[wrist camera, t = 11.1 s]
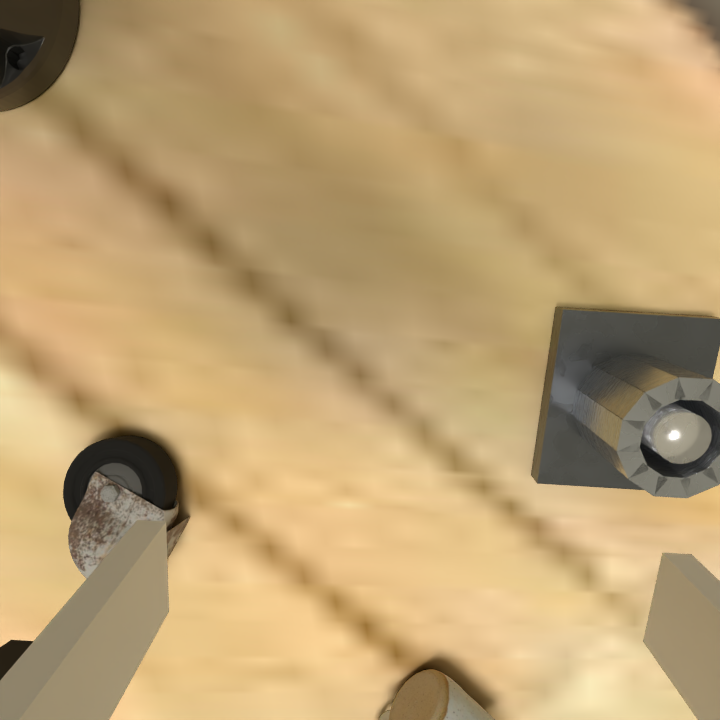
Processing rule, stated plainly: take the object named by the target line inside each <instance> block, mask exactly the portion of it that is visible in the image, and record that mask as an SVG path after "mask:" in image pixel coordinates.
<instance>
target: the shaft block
mask: <svg viewBox="0 0 720 720" xmlns="http://www.w3.org/2000/svg"><path fill="white" fill-rule="evenodd" d="M719 347H720V318H717V317H712V316H695V315H679V314H662V313H645V312H629V311H612V310H596V309H579V308H563V307H556V309H555V315H554V322H553V329H552V336H551V343H550V350H549V356H548V363H547V370H546V377H545V384H544V391H543V397H542V404H541V411H540V418H539V425H538V432H537V439H536V445H535V452H534V459H533V466H532V473H531V475H532V477H533V478H534V480H535V481H536V482H537V483H540V484H556V485H572V486H588V487H604V488H621V489H637V490H644V489H642V488H641V487H639V486H638V485H636V484H635V483H633V482H632V481H630V480H629V479H628V478H626V477H625V476H624V475H623V474H622V473H621V472H620V471H619V470H617V469H616V468H615V467H614V466H613V465H612V464H611V463H610V462H608V461H607V460H606V459H605V458H604V457H603V456H602V455H601V454H599V453H598V452H597V451H596V450H595V449H594V448H593V447H592V446H590V445H589V444H588V443H587V442H586V441H585V440H584V439H583V438H582V436H581V434H580V431H579V429H578V427H577V424H576V422H575V420H574V417H573V409H574V403H575V397H576V391H577V388H578V387H579V385H580V384H581V383H582V381H583V380H584V379H585V378H586V376H587V375H588V374H589V373H590V371H591V370H592V369H593V368H594V366H596V365H598V364H600V363H602V362H605V361H607V360H609V359H611V358H613V357H616V356H618V355H620V354H636V355H650V356H653V357H656V358H658V359H661V360H664V361H666V362H669V363H671V364H674V365H677V366H679V367H682V368H685V369H687V370H690V371H692V372H695V373H698V374H700V375H703V376H706V377H708V378H711V379H712V378H713V374H714V369H715V365H716V360H717V356H718V351H719ZM711 436H712V434H711V428H710V426H709V424H708V423H707V421H706V420H705V419H704V418H702V417H701V416H699V415H697V414H695V413H693V412H691V411H689V410H687V409H685V408H683V407H681V406H679V405H677V404H675V403H671V404H669V405H666V406H664V407H662V408H659V409H658V410H657V411H656V413H655V414H654V415H653V416H652V417H651V418H650V420H649V421H648V422H647V423H646V424H645V426H644V428H643V433H642V438H641V442H642V443H643V444H645V445H646V446H648V447H649V448H650V449H652V450H653V451H655V452H656V453H657V454H659V455H660V456H662V457H663V458H664V459H666V460H668V461H669V462H671V463H677V464H684V463H689V462H692V461H694V460H696V459H698V458H699V457H701V456H702V455H703V454H704V453H705V452H706V450H707V449H708V447H709V445H710V442H711Z"/></svg>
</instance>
